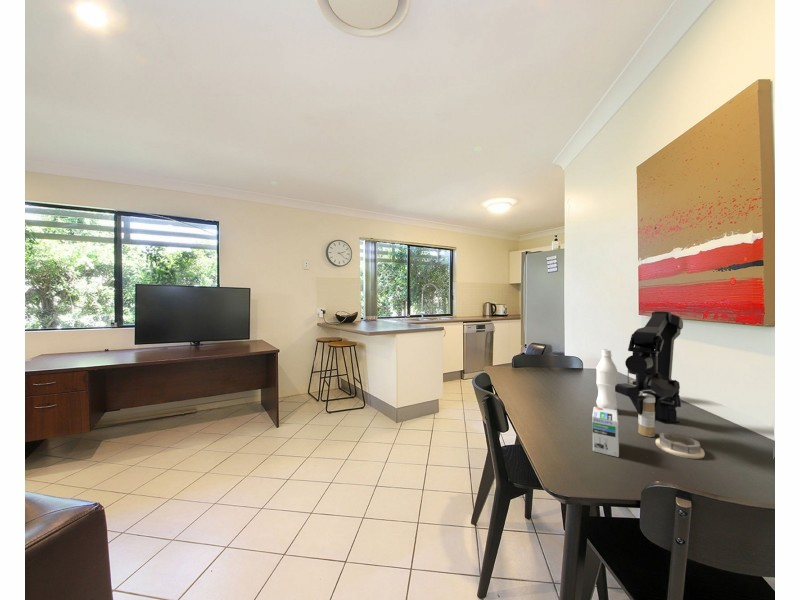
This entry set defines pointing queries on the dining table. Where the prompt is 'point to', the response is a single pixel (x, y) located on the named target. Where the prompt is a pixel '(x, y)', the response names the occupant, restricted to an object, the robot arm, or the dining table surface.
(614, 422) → the light bulb box
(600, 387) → the water bottle
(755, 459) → the dining table surface
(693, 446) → the collar socket
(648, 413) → the sprinkles bottle
